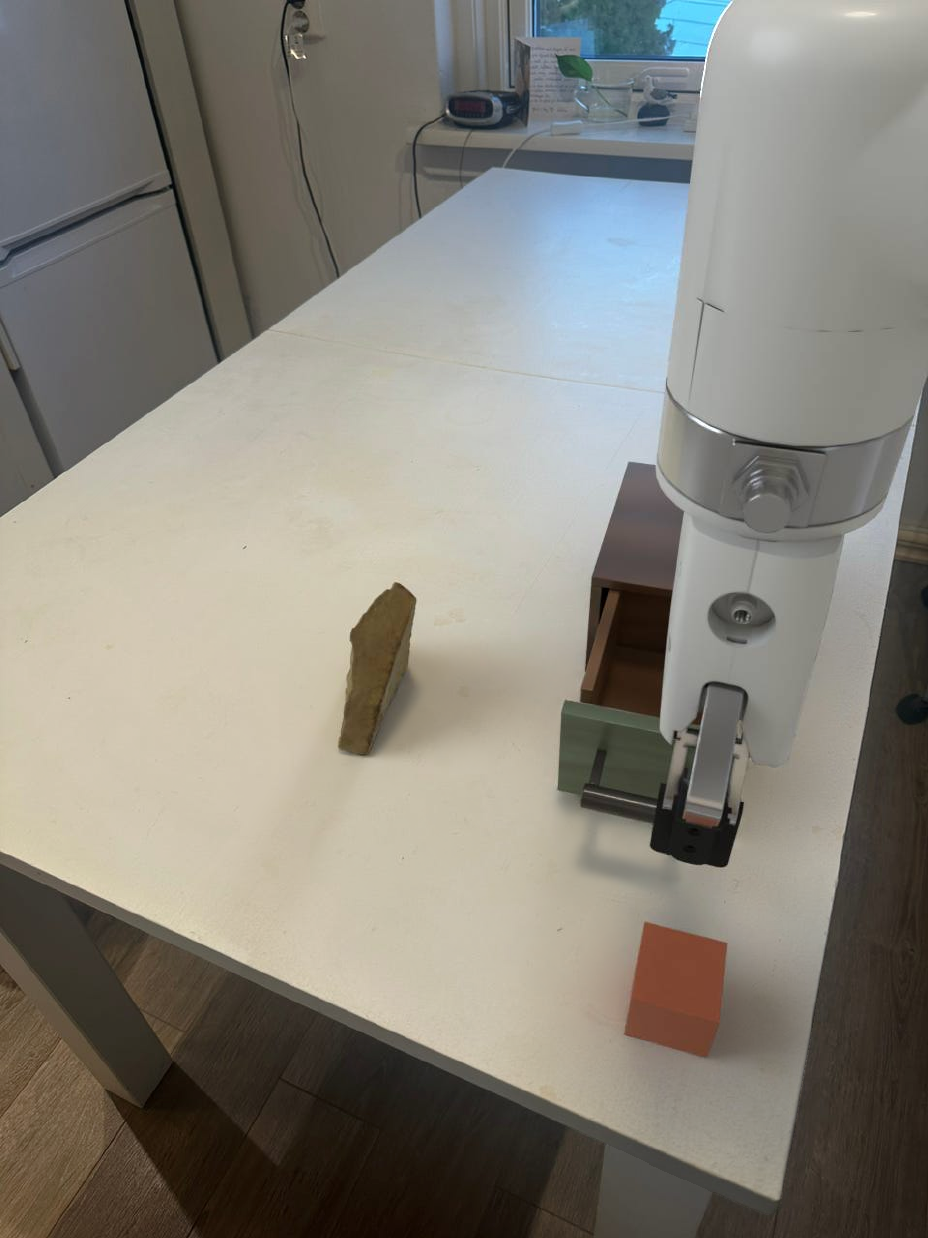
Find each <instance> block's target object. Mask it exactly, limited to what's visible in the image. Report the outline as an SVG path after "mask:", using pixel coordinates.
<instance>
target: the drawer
mask: <svg viewBox="0 0 928 1238" xmlns="http://www.w3.org/2000/svg"><path fill="white" fill-rule="evenodd" d="M671 601H672V598H667V597H661V596H654V595H648V594H642V593H636V592H630V591H624V590H618V589H611V588H610V590H609V593H608V597H607V600H606V603H605V607H604V610H603V614H602V617H601V621H600V624H599V627H598V631H597V634H596V638H595V641H594V645H593V648H592V651H591V655H590V658H589V662H588V665H587V668H586V672H585V671H584V675H583V679H582V682H581V686H580V691H579V692H580V693H579V701H577V700H573V699H571V700H570V699H564V702H563V704H562V709H561V712H560V725H559V726H560V727H559V746H558V748H559V749H558V767H557V768H558V771H557V791H559V792H564V793H568V794H572V795H577V796H580V801H579V808H581V809H585V810H588V811H593V812H597V813H602V814H606V815H611V816H615V817H618V818H623V819H627V820H632V821H636V822H641V823H645V824H650V825H653V823H654V817H655V811H656V806H657V800H658V794H659V789H660V784H661V783H664V784H666V783H667V780H668V775H669V770H670V765H671V760H672V755H673V749H674V744H675V740H673V742H672V745H670V744H669V743H668V742H667V740H666V739H665V738H664V737H663V735H662V734H661V732H660V714H661V702H662V689H663V676H664V666H665V656H666V645H667V635H668V627H669V618H670V609H671ZM702 714H703V711H699V712H697V717H696V719H695V720H694V721H693V722H692V723H691V724H690V725H689V726H688V727H690V728H694V729H699V730H700V725H701V719H702ZM738 735H739V734H738V733H737V735H736V738H739V736H738ZM695 751H696V749H694V748H690V747H688V750H687V755H686V760H685V765H684V770H683V775H682V780H681V785H682V781H683V779H686V780H690V777H691V772H692V767H693V761H694V756H695ZM732 759H733V757H732ZM731 764H732V763H731Z"/></svg>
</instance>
